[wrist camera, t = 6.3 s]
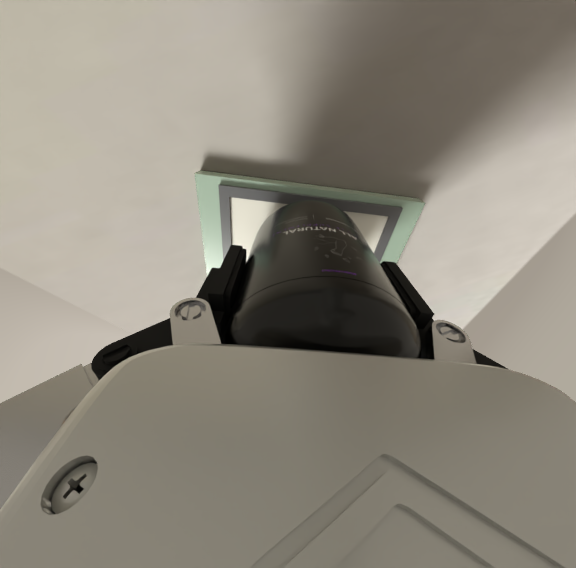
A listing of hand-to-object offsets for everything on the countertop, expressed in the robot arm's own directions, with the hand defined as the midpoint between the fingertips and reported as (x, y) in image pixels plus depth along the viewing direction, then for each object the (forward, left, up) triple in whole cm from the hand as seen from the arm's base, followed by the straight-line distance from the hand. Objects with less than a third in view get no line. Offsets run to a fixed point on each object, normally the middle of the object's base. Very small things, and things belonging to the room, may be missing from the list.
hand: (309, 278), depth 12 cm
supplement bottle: (0, 0, -3) cm, 3 cm away
